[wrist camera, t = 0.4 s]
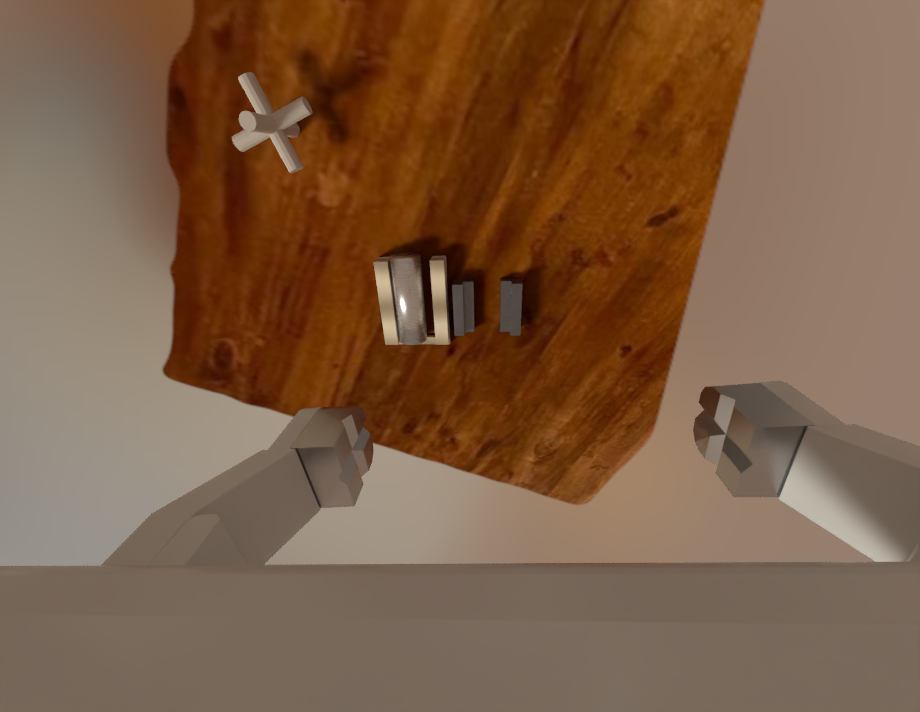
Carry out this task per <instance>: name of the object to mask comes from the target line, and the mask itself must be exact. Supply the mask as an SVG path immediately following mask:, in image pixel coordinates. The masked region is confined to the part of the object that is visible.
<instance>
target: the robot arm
mask: <svg viewBox="0 0 920 712" xmlns="http://www.w3.org/2000/svg"><path fill="white" fill-rule="evenodd" d="M699 403H700V404H701V406H702V407H703V409H704V411H703V412H701V413H700V414H699V415H698V416H697V417H696V418H695V423H694V430H693V431H694V437H695V442H696V445H697V447H698V449H699V451H700V452H701V454H702V455H703V456H704V458H705V459H707V460H709V461H710V462H712V463H714V464H716V465H718V467H717V471H716V474H717V475H718V477H719V478H720V479H721V481H722V482H723V483H724V485H725V486H726V487H727V489H728V490H729V491H730V492H731V494H732V495H733V496H734V497H779V499H780V500H781V501H783V502H784V503H786V504H787V505H789V506H791V507H792V508H793V509H795V510H797V511H798V512H800V513H801V514H803V515H804V516H806V517H807V518H809V519H811V520H812V521H814V522H815V523H817V524H819V525H820V526H821V527H823V528H824V529H826V530H828V531H829V532H831V533H832V534H834V535H835V536H837V537H838V538H840V539H841V540H843V541H845V542H846V543H848V544H849V545H851V546H852V547H854V548H855V549H857V550H858V551H860V552H862V553H863V554H865V555H866V556H868V557H869V558H871V559H872V560H874V561H875V562H747V563H746V562H737V563H735V562H734V563H531V564H530V563H525V564H350V565H349V564H339V565H337V564H327V565H264V564H265V563H266V562H267V561H268V560H269V559H270V558H271V557H272V556H273V555H274V554H275V553H276V552H277V551H278V550H279V549H280V548H281V547H282V546H283V545H284V544H285V543H287V541H289V540H290V539H291V538H292V537H293V536H294V535H295V534H296V533H297V532H298V531H299V529H301V528H302V527H303V526H304V525H305V524H306V523H307V522H308V521H309V520H310V519H311V518H312V517H313V516H314V515H316V514H317V513H318V512H319V511H320V508H330V507H347V506H348V507H349V506H355V504H356V501H357V499H358V496H359V494H360V491H361V489H362V486H363V481H362V478H361V476H363V475H364V474H365V473H366V472H367V471H369V468H370V466H371V463H372V458H373V441H372V438H371V434H370V433H369V432H368V431H367V430H366V429H364V428H363V426H364V424H365V422H366V417H365V414H364V411H363V409H362V408H361V407H359V406H348V407H323V408H320V407H319V408H305V409H302V410H299V411H298V413H297V414H296V415H295V417H294V418H293V419H292V420H291V422H290V423H289V424H288V425H287V427H286V428H285V429H284V430H283V432H282V433H281V434H280V435H279V437H278V438H277V439H276V440H275V442H274V443H273V444H272V446H271V447H270V448H269V449H268V450H262V451H260V452H258V453H256V454H255V455H253V456H251V457H250V458H248V459H246V460H244V461H243V462H241V463H239V464H237V465H236V466H234V467H232V468H231V469H229V470H227V471H225V472H223V473H222V474H220V475H218V476H216V477H215V478H213V479H211V480H210V481H208V482H206V483H204V484H203V485H201V486H199V487H197V488H196V489H194V490H192V491H190V492H189V493H187V494H185V495H183V496H182V497H180V498H178V499H177V500H175V501H173V502H171V503H170V504H168V505H166V506H165V507H163V508H161V509H159V510H157V511H156V512H154V513H152V514H151V515H150V516H149V517H148V518H147V519H146V520H145V521H144V522H143V523H142V524H141V525H140V526H139V527H138V528H137V529H136V530H135V531H134V532H133V533H132V534H131V535H130V536H129V537H128V538H127V539H126V540H125V541H124V542H123V543H122V544H121V546H120V547H119V548H118V549H117V550H116V551H115V552H114V553H113V554H112V555H111V556H110V557H109V558H108V559H107V560H106V561H105V562H104V563H103V564H102V565H101V566H0V712H920V446H918V445H915V444H912V443H909V442H906V441H903V440H899V439H897V438H893V437H891V436H888V435H885V434H882V433H879V432H876V431H873V430H870V429H867V428H864V427H861V426H858V425H855V424H851V425H846V424H844V423H843V422H841V421H840V420H839V419H837V418H836V417H834V416H833V415H832V414H830V413H829V412H827V411H826V410H825V409H823V408H822V407H820V406H819V405H818V404H816V403H815V402H813V401H812V400H810V399H809V398H808V397H806V396H805V395H803V394H802V393H801V392H799V391H798V390H796V389H795V388H793V387H792V386H791V385H789V384H788V383H785V382H781V381H770V382H759V383H752V384H738V385H725V386H712V387H705V388H704V389H703V391H702V392H701V396H700V400H699Z"/></svg>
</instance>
